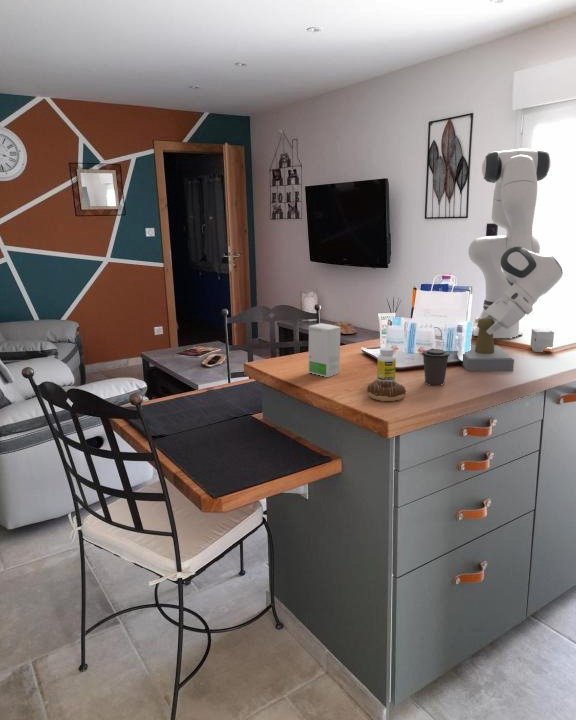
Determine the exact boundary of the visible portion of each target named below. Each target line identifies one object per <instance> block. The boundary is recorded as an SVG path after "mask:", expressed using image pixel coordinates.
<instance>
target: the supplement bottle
mask: <svg viewBox="0 0 576 720" xmlns="http://www.w3.org/2000/svg"><path fill="white" fill-rule="evenodd" d="M394 352H395V351H394V348H393V347H387V346H386V347H381V348H380V349H379V354H380V355H378V356H377V365H376V366H377V371H376V373H377V376H376V378H377V379H376V380H377V382H378V381H390V382H395V381H396V363H397V362H396V359H397V358H396V355H394Z"/></svg>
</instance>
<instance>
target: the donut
mask: <svg viewBox="0 0 576 720" xmlns="http://www.w3.org/2000/svg"><path fill="white" fill-rule="evenodd" d="M366 391H367V394H368V396H369V397H370V398H371V399H372V398H373V399H372V400H375V399H376V401H378V400H382V401H381V402H384V401H393V402H396V401H395V400H398V401H400V400H402V399H403V398H404V397H405V396H406V392H407V390H406V387H405V386H404V385H402V384H400V383H399V382H396V381H392V382H390V381H378V380H377V381H373V382H372V383H370V384H369V385H368V386H367V389H366Z"/></svg>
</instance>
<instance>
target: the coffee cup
mask: <svg viewBox="0 0 576 720" xmlns="http://www.w3.org/2000/svg"><path fill="white" fill-rule="evenodd" d="M421 355H422V356H423V357H422V358H423V368H424V371H423V372H424V382H426V383H427V384H426V383H425V384H426V385H428V384H430V385H429V386H432V385H440V386H442V385H441V384H443V383H444V384H445V379H446V373H447V367H448V362H449V357H450V356H451V354H450V352H449V351H448V350H443V349H439V348H430V349H427V350H424V351H422V352H421ZM444 384H443V385H444Z"/></svg>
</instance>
